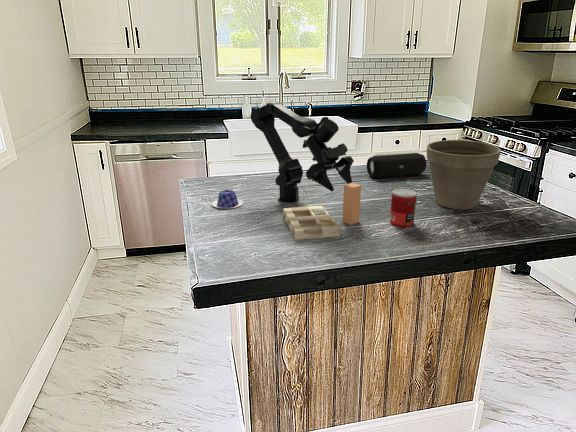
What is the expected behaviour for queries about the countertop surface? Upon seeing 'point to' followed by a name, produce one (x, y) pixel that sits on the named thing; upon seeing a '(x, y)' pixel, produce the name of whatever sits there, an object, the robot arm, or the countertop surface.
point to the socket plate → (310, 222)
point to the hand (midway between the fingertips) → (342, 188)
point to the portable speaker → (396, 165)
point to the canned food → (403, 207)
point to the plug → (351, 203)
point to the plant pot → (460, 171)
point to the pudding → (227, 200)
